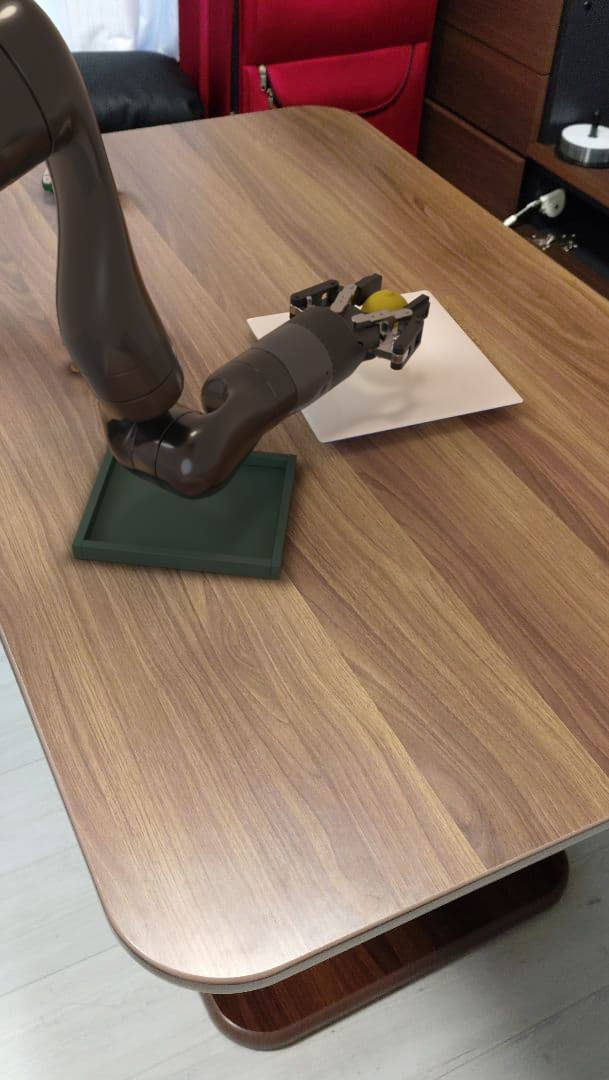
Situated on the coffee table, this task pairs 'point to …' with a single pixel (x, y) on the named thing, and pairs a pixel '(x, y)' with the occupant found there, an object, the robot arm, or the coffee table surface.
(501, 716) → the coffee table surface
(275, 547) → the tray
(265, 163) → the coffee table surface
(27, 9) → the robot arm
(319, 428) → the plate
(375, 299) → the lemon
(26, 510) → the coffee table surface
